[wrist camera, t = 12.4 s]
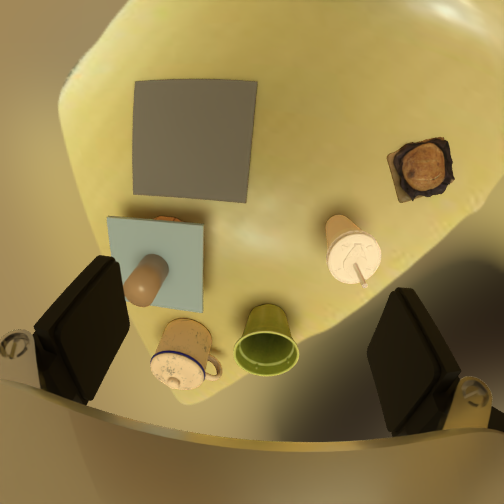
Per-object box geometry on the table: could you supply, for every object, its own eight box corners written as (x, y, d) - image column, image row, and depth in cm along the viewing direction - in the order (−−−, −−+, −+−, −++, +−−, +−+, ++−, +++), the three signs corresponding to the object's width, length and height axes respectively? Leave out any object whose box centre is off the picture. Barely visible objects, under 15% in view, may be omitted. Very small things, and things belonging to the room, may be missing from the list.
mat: (136, 81, 32) (135, 81, 32) (257, 82, 32) (257, 81, 32) (134, 193, 40) (133, 194, 39) (246, 202, 39) (245, 203, 39)
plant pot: (231, 329, 50) (225, 367, 42) (249, 286, 45) (245, 323, 38) (282, 344, 51) (283, 381, 43) (305, 304, 46) (310, 342, 39)
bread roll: (397, 205, 39) (407, 214, 35) (382, 149, 35) (392, 154, 32) (454, 184, 36) (467, 191, 33) (443, 131, 33) (457, 134, 30)
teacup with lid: (157, 339, 52) (138, 386, 42) (174, 308, 48) (154, 357, 38) (214, 365, 54) (204, 414, 44) (237, 338, 51) (229, 391, 40)
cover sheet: (108, 215, 35) (82, 236, 29) (204, 224, 35) (191, 248, 29) (120, 297, 41) (101, 325, 35) (203, 310, 41) (193, 342, 35)
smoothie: (314, 247, 42) (330, 307, 29) (317, 204, 39) (338, 251, 26) (357, 247, 41) (387, 305, 29) (362, 205, 39) (400, 252, 26)
